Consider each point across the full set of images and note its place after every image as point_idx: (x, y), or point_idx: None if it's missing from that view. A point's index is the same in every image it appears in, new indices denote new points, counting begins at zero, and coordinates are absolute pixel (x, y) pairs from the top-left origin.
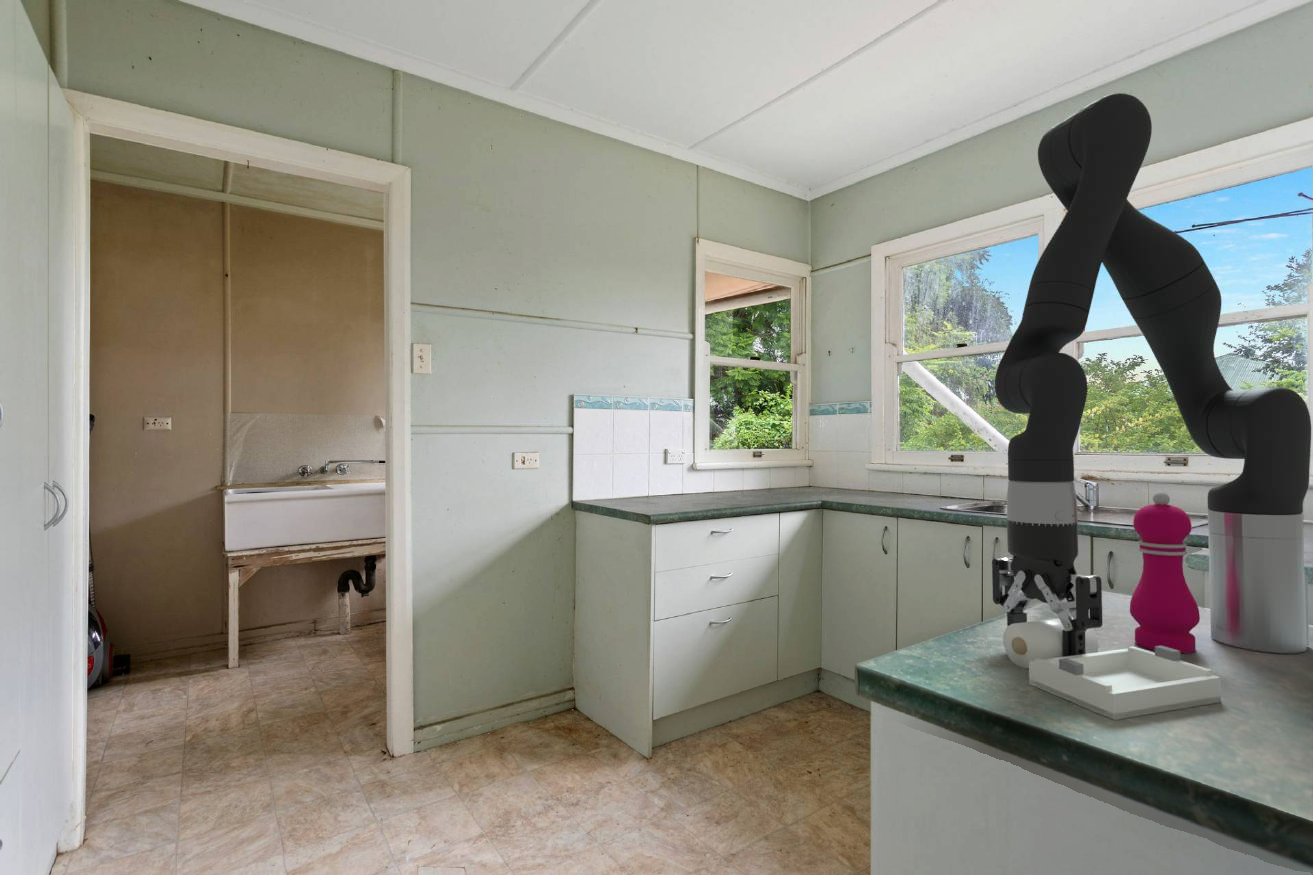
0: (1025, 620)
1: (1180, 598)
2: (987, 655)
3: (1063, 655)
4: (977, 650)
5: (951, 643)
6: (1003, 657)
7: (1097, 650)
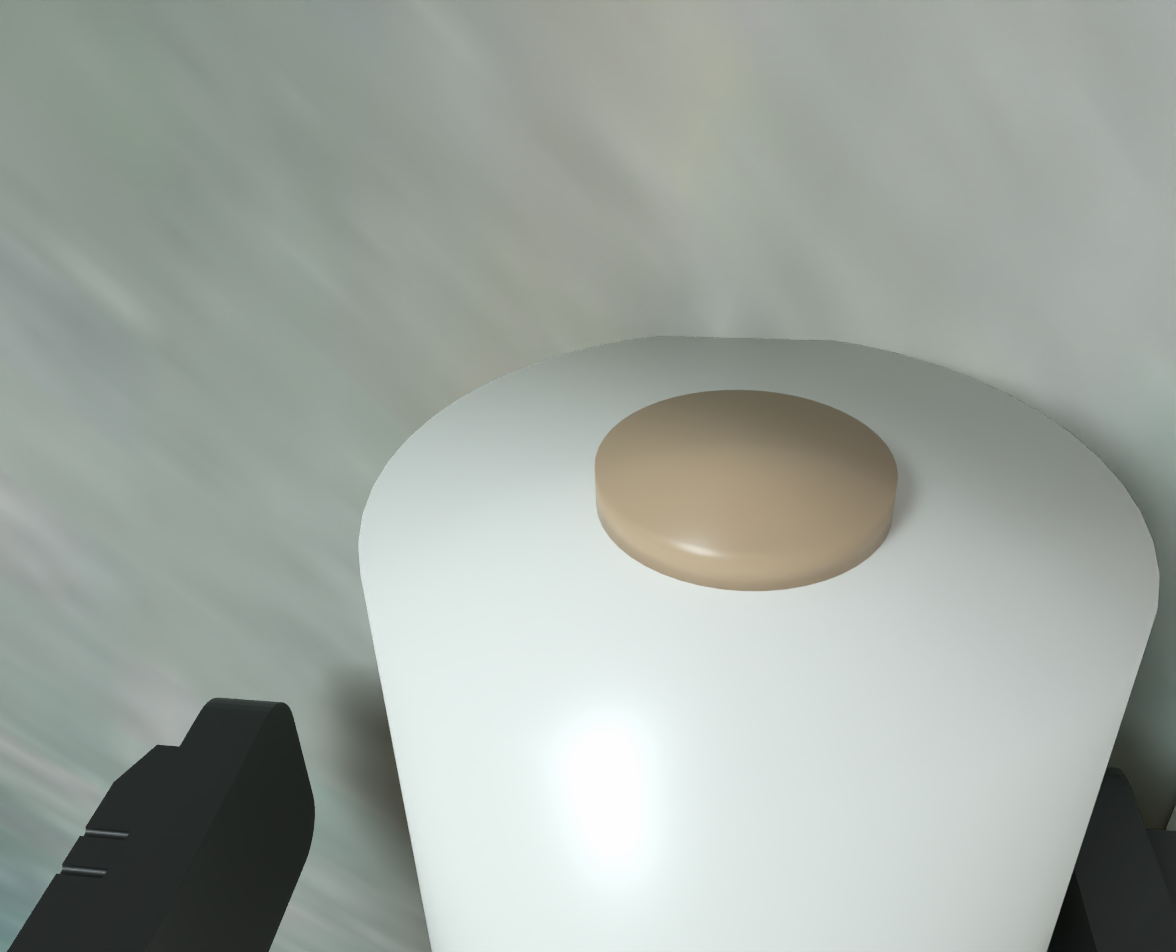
0: (164, 943)
1: None
2: (382, 942)
3: None
4: None
5: None
6: None
7: (1095, 459)
